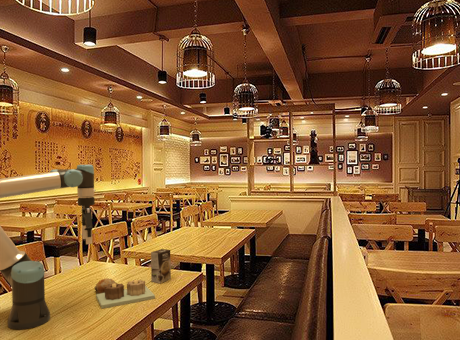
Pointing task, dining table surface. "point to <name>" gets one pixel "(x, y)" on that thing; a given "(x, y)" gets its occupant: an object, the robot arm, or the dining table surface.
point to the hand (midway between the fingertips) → (87, 241)
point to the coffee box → (160, 266)
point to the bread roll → (103, 285)
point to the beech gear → (136, 288)
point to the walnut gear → (114, 291)
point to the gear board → (124, 298)
